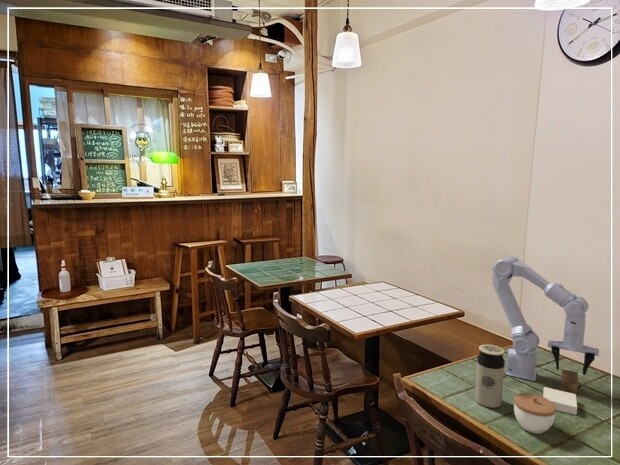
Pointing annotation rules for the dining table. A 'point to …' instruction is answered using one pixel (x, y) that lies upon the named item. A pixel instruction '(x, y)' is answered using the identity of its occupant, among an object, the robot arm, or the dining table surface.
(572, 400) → the cream tile block
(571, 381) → the walnut block
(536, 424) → the lidded jar
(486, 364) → the travel mug
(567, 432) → the dining table surface
